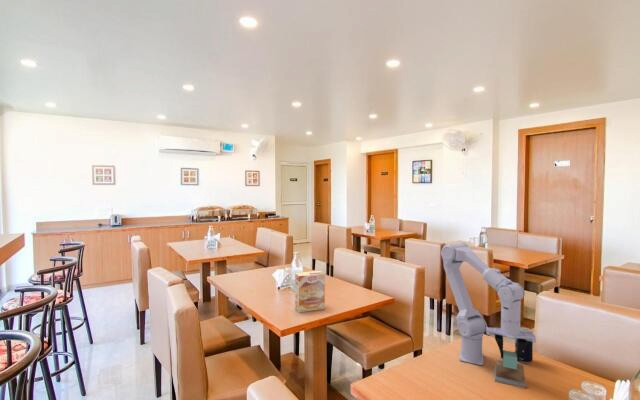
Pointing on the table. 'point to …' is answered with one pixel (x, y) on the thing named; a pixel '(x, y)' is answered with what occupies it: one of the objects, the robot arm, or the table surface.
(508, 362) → the cube
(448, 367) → the table surface
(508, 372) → the walnut brick
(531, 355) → the beverage can
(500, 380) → the plate
